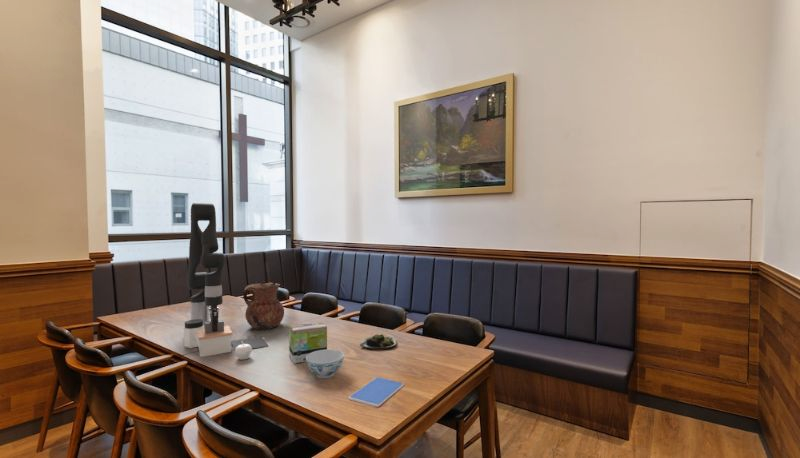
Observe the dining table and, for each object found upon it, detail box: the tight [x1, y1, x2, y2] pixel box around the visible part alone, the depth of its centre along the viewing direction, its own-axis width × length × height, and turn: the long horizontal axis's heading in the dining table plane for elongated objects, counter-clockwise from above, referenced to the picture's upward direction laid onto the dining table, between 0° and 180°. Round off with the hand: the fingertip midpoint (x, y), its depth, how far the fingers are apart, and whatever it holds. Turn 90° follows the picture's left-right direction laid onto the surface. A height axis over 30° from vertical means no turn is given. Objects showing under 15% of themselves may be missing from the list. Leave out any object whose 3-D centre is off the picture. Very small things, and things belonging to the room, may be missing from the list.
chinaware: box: [305, 348, 345, 379], centre depth 149 cm, size 15×15×8 cm
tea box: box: [288, 321, 328, 365], centre depth 167 cm, size 15×10×15 cm
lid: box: [197, 319, 233, 340], centre depth 178 cm, size 14×14×7 cm
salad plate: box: [359, 333, 397, 351], centre depth 186 cm, size 19×18×5 cm
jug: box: [242, 282, 285, 330], centre depth 217 cm, size 22×21×25 cm
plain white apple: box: [234, 341, 253, 361], centre depth 167 cm, size 7×7×8 cm
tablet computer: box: [348, 376, 405, 408], centre depth 134 cm, size 19×13×1 cm, turn 152°
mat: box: [231, 336, 269, 351], centre depth 186 cm, size 17×15×1 cm
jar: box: [183, 319, 204, 349], centre depth 186 cm, size 9×8×12 cm
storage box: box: [198, 335, 232, 358], centre depth 178 cm, size 13×13×8 cm
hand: (214, 330), depth 178 cm, fingers closed on lid, 4 cm apart
